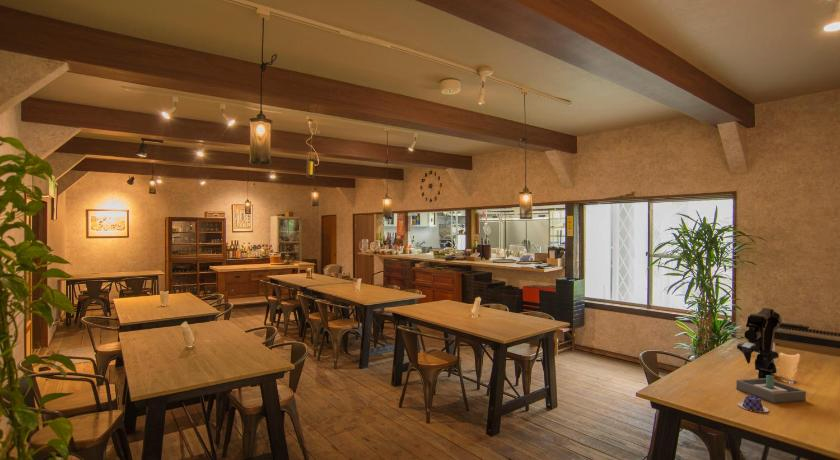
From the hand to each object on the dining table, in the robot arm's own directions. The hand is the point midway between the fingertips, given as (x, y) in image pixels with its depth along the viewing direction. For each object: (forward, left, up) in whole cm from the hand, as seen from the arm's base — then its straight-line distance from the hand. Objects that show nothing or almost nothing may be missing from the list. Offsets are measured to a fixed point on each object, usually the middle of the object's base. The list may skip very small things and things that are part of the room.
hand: (756, 366), depth 237 cm
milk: (-29, -18, -12) cm, 36 cm away
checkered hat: (+29, +23, -12) cm, 39 cm away
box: (+4, +11, -12) cm, 16 cm away
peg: (+4, +11, -11) cm, 16 cm away
